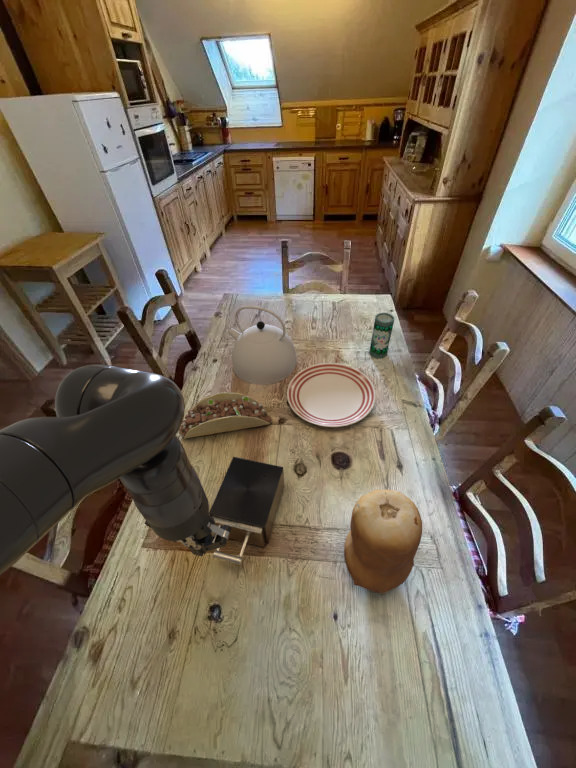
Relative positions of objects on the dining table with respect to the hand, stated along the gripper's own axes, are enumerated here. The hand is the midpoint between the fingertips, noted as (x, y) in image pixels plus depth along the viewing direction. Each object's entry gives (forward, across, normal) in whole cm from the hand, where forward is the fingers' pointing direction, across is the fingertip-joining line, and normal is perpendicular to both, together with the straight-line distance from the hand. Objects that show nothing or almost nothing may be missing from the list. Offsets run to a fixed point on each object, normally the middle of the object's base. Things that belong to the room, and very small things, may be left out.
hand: (200, 549), depth 54 cm
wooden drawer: (+22, 0, +14) cm, 26 cm away
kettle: (+23, -14, +71) cm, 76 cm away
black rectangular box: (+23, 0, +18) cm, 29 cm away
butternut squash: (+23, +29, +12) cm, 39 cm away
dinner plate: (+23, +12, +59) cm, 64 cm away
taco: (+23, -16, +40) cm, 49 cm away
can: (+23, +26, +85) cm, 92 cm away
